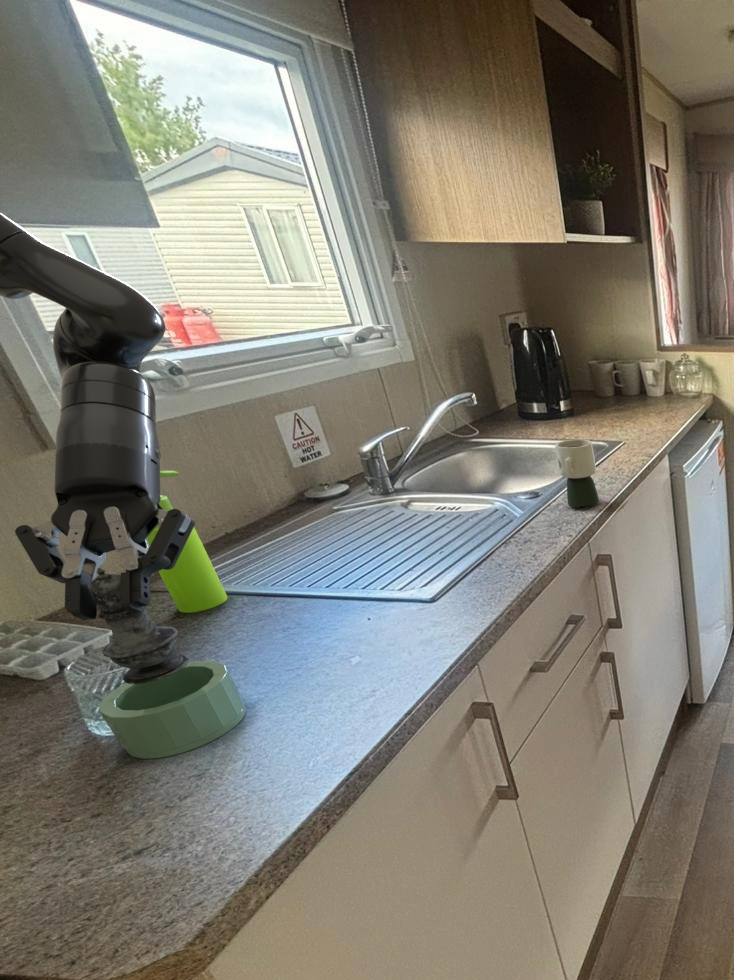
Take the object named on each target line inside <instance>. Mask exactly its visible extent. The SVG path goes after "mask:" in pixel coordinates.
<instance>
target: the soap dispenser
mask: <svg viewBox="0 0 734 980" xmlns="http://www.w3.org/2000/svg"><path fill="white" fill-rule="evenodd" d="M179 475H180V472H178V471H175V470H160V479H161V478H168V477H178V476H179ZM159 505H160V506H161V508H162V509H163V510H167V511H169V510H171V509H174V508H173V505H172V503H171V501H170V499H169V498H168V496H166V495H162V494H160V502H159ZM159 528H160V527H159V526H158V525H157V527H156V528H155V529H154V530H153V531H152V532H151V533H150V535H149V536H148V537H147V539H148V543H149V546H150V545H151V543H152V541H153V540H154V538H155V536H156V534H157V532H158V530H159ZM157 572H158V574H159V576H160V578H161V580H162V581H163V583H164V585H165V587H166V589H167V591H168V593H169V595H170V597H171V599H172V601H173V603H174V605H175V606H176V608H177V610H178V612H180V613H183V614H185V613H186V614H187V613H188V614H191V613H199V612H203V611H206V610H210V609H214V608H216V607H218V606H221V605H222V604H224V603H225V602H227V600H228V595H227V593H226V591H225V588H224V586H223V584H222V582H221V580H220V578H219V575H218V574H217V571H216V570H215V567H214V566H213V563H212V561H211V559H210V556H209V554H208V552H207V550H206V548H205V546H204V544H203V543H202V540H201V538H200V536H199V534H198V532H197V529H196V528H195V526H194V528H193V530H192V532H191V534H190V536H189V538H188V540H187V542H186V544H185V546H184V548H183V550H182V552H181V554H180V556H179V558H178V560H177V562H176V564H175V566H174V567H173V568H172V569H170V570H164V569H162V570H159V571H157Z"/></svg>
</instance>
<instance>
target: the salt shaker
mask: <svg viewBox="0 0 734 980" xmlns="http://www.w3.org/2000/svg"><path fill="white" fill-rule="evenodd" d="M96 573H97V577H96V578H95V579H93V580H92V581H91V582H90V583H89V585H88V590H89V592H90V593H91V595H92V597H93V598H94V600H95V602H96V604H97V608H98V609H99V612H97V617H98V618H99V619H102V620H104V621H105V622H106V624H107V626H108V628H109V630H110V631H111V634H112V638H113V639H112V641H110V642H109V643H107V644H106V645H105V646H104V647H103V648H102V651H101V654H102V656H104V657H106V658H109V659H110V660H111V661H112V662H113V663H115V664H116V665H118V666H119V667H122V668H126V669H128V670H127V671H126V672H125V673H124V675H123V676H122V681H123V682H124V684H125V683H128V684H143V683H148V682H152V681H156V680H160V679H162V678H165V677H168V676H170V675H172V674H174V673H176V672H178V671H180V670H181V669H183V668H184V667H185V666H186V665H187V664H188V662H189V659H190V658H188V657H187V656H186V655H182V654H174V653H175V652H176V651H177V649H178V638H177V636H178V630H177V629H176V628H175V627H171V626H157V625H156V624H155V623H154V622H153V620H151V618H150V616H149V614H148V613H147V610H146V609H145V610H144V612H139V613H132V612H129V611H127V610H124V609H123V608H122V607H121V574H115V573H111V574H110V573H106V570H105V569H103V568H101V567H99V568H98V570H97V572H96Z"/></svg>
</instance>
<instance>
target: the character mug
mask: <svg viewBox="0 0 734 980" xmlns="http://www.w3.org/2000/svg"><path fill="white" fill-rule="evenodd" d="M554 449H555V453H556V454H555V455H556V458H557V461H558V468H559V469H558V470H559V474H560V476H562V477H564V478H566V497H567V505H568V507H571V508H577V507H580V508H582V509H583V508H584V507H587V506H588V507H589V506H593V505H597V504H598V503H599V502H600V498H599V495H598V494H599V493H598V490H597V487H596V484H595V481H594V479H593V477H592V476H594V475H595V474H597V466H596V460H595V453H594V448H593V442H592V441H591V440H590V439H585V438H584V439H583V438H581V439H580V438H576V439H575V438H574V439H567V440H562V441H559V442H556V443H555V444H554Z"/></svg>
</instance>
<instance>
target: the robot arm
mask: <svg viewBox="0 0 734 980" xmlns="http://www.w3.org/2000/svg"><path fill="white" fill-rule="evenodd" d="M33 294H36V295H38V296H40V297H42V298H45V299H47V300H49V301H52V302H53V303H56V304H57V305H60V306H61V307H63V308H65V309H64V310H63V311H62V312H61V314H60V315H59V317H58V318H57V320H56V322H55V325H54V329H53V335H52V347H53V353H54V357H55V362H56V365H57V369H58V372H59V375H60V377H61V381H62V382H61V389H60V415H59V421H58V425H57V428H56V434H55V460H54V461H55V462H54V463H55V465H54V469H55V470H54V495H55V497H56V500H57V507H56V509H55V510H54V511H53V513H52V514H51V516H50V521H47V522H45V523H42V524H39V525H37V526H34V527H32V526H30V525H28V524H21V525H19V526H17V527H16V528H15V530H14V533H15V535H16V537H17V539H18V541H19V542H20V544H21V545H22V547H23V549H24V551H25V552H26V555H28V558H29V559H30V561H31V562H32V564H33V566H34V567H35V569H36V571H37V573H38V574H39V575H41V576H44V577H46V578H49V579H51V580H53V581H56V582H58V583H60V584H64V609H65V610H66V612H67V613H70V614H71V615H72V617H75V618H77V619H80V620H83V621H89V620H95V619H96V618H97V617H98V605H97V604H96V602H95V600H94V598H93V597H92V595H91V593H90V592H89V590H88V585H89V583H90V582H91V581H92V580H93V579H95V578H97V576H98V574H97V573H96V572H97V570H98V568H100V566H103V565H104V564H105V562H106V558H107V555H108V553H110V552H113V551H117V552H118V555H119V557H120V560H121V564H122V567H123V569H124V570H125V571H124V572H120V575H121V607H122V608H123V609H124V610H127V611H129V612H132V613H139V612H144V610H145V611H146V607H149V604H150V602H151V578H152V577H153V576H154V574H155V573H157V572H158V571H159V570H162V569H164V570H170V569H172V568H173V567H174V566H175V564H176V562H177V560H178V558H179V556H180V554H181V552H182V550H183V548H184V546H185V544H186V542H187V540H188V538H189V536H190V534H191V532H192V530H193V528H194V527H195V525H196V521H195V520H194V519H193V518H191V516H189V515H187V514H186V513H185V512H183V511H181V510H180V509H178V508H173V509H171V510H169V511H167V510H163V509H162V508H161V506H160V505H159V502H160V495H161V478H160V471H161V459H162V456H161V455H162V454H161V451H160V449H161V448H160V441H159V437H158V433H157V414H156V413H157V411H156V410H157V409H156V407H157V404H156V394H155V391H154V387H153V385H152V383H151V382H150V380H149V379H147V378H146V377H145V376H144V375H143V374H142V373H141V366H142V362H143V360H144V359H145V358H146V357H147V356H148V355H149V354H150V352H151V351H152V350H153V349H154V348H155V347H156V346H157V345H158V344H159V343H160V341H161V340H162V339H163V338H164V336H165V333H166V324H165V323H166V322H165V320H164V317H163V316H162V315H161V313H160V311H159V310H158V308H157V307H156V306H155V305H154V304H153V303H152V301H150V300H149V298H147V297H146V296H145V295H144V294H142V293H141V292H139V291H138V290H137V289H135V288H134V287H132V286H131V285H130V284H129V283H126V282H124V281H123V280H120V279H119V278H116V277H115V276H112V275H110V274H109V273H107V272H104V271H102V270H100V269H98V268H96V267H94V266H92V265H90V264H88V263H86V262H84V261H82V260H80V259H78V258H76V257H74V256H72V255H69V254H68V253H65V252H63V251H61V250H59V249H56V248H55V247H53V246H50V245H48V244H46V243H44V242H43V241H41V240H40V239H39V238H37V237H36V236H34V235H33V234H31V233H30V232H28V231H27V230H26V229H24V228H23V227H22V226H21V225H20V224H17V223H16V222H14V221H13V220H11V219H10V218H9V217H7V216H6V215H5V214H3V213H1V212H0V297H2V298H6V299H10V300H17V299H24V298H25V297H28V296H30V295H33ZM157 525H158V526H159V527H160V528H159V530H158V532H157V534H156V536H155V538H154V540H153V541H152V543H151V545H150V546H149V543H148V539H147V537H148V536H149V535H150V533H151V532H152V531H153V530H154V529H155V528H156V527H157ZM60 534H63V535H64V536H65V537H66V539H65V543H64V547H63V554H64V555H65V559H64V557H63V556H62V554H61V552H60V551H59V549H58V548H57V547H59V546H60V545H61V541H60V538H59V537H60Z"/></svg>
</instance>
